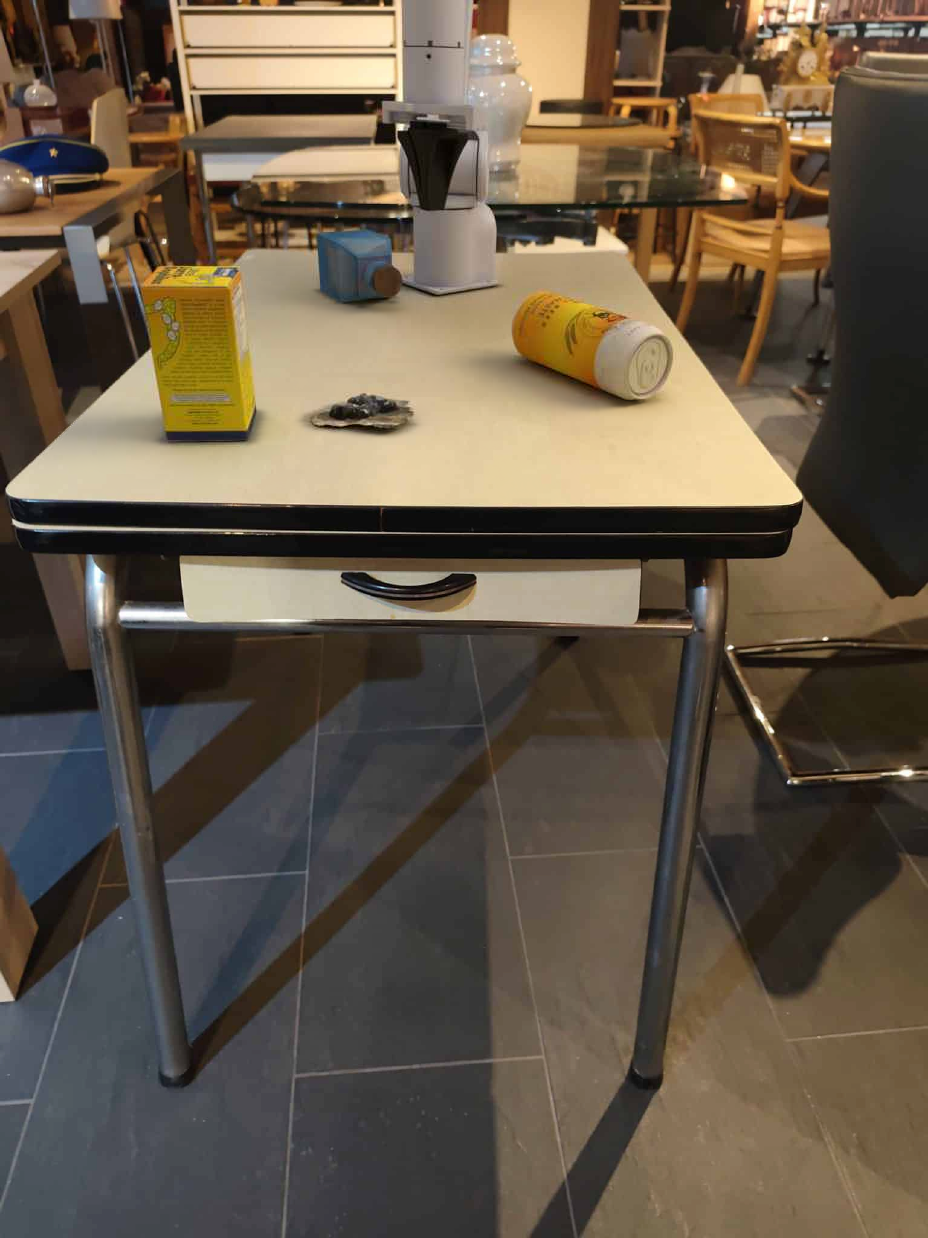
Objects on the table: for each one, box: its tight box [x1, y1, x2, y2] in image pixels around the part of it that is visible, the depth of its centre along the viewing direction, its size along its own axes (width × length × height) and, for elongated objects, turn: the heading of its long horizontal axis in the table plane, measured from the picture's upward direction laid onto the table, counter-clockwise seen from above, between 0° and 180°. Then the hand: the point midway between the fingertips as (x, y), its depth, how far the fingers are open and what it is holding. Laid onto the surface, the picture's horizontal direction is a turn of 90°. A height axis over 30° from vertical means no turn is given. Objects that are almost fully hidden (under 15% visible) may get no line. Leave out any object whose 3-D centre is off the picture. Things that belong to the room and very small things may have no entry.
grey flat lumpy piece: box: [309, 392, 415, 429], centre depth 68 cm, size 7×8×2 cm
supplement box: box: [139, 265, 257, 443], centre depth 63 cm, size 6×6×11 cm
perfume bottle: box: [316, 228, 403, 304], centre depth 98 cm, size 6×6×12 cm
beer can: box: [511, 290, 674, 401], centre depth 76 cm, size 6×6×15 cm
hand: (432, 209), depth 88 cm, fingers closed
